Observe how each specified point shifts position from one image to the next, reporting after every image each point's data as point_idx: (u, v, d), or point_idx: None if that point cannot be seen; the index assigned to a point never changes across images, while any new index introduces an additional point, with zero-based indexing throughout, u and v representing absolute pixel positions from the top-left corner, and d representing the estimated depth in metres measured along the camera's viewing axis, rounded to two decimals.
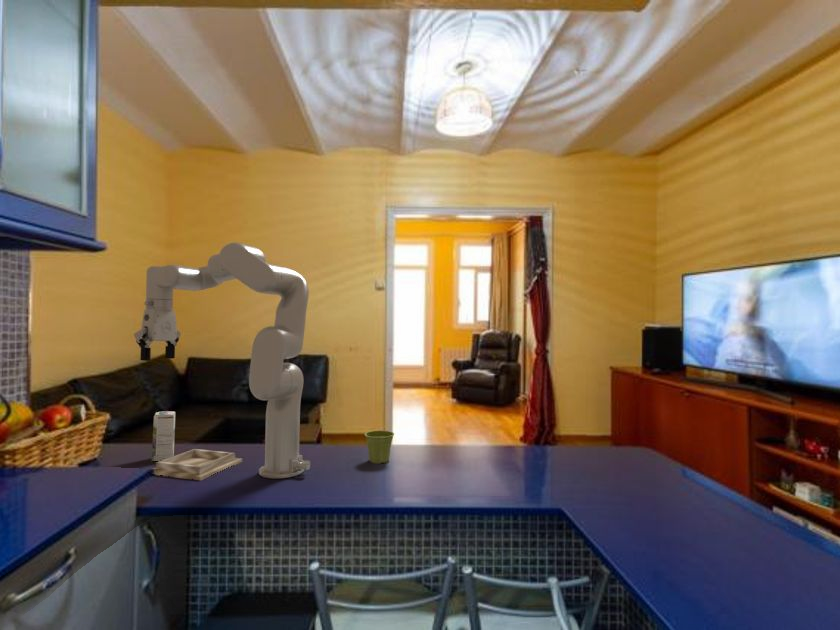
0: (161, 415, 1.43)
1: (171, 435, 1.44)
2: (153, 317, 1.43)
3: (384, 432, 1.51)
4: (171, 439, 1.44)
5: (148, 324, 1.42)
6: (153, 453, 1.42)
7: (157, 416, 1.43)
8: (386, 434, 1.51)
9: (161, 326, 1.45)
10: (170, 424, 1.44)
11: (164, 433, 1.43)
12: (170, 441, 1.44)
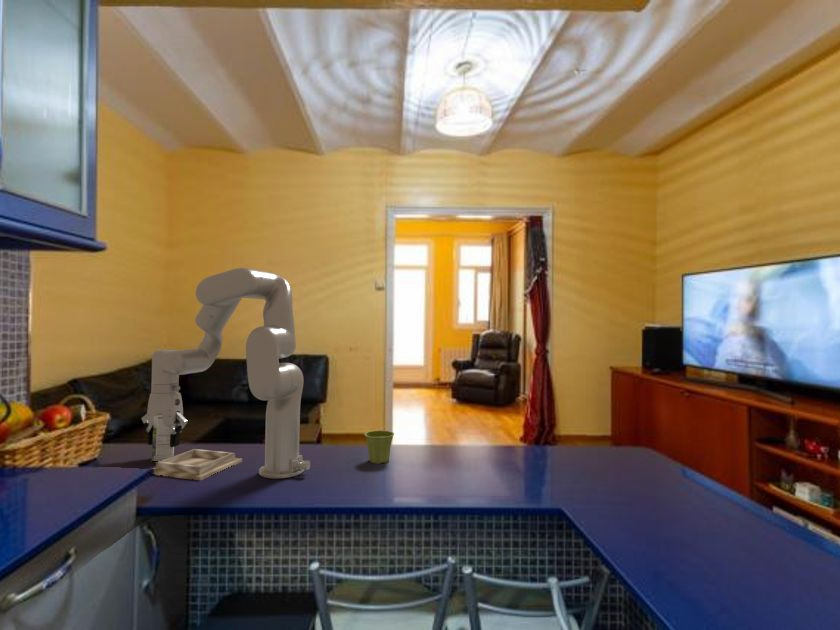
0: (161, 415, 1.43)
1: None
2: (181, 400, 1.47)
3: (384, 432, 1.51)
4: None
5: (180, 408, 1.46)
6: (153, 453, 1.42)
7: (157, 416, 1.43)
8: (386, 434, 1.51)
9: None
10: None
11: (163, 433, 1.43)
12: None
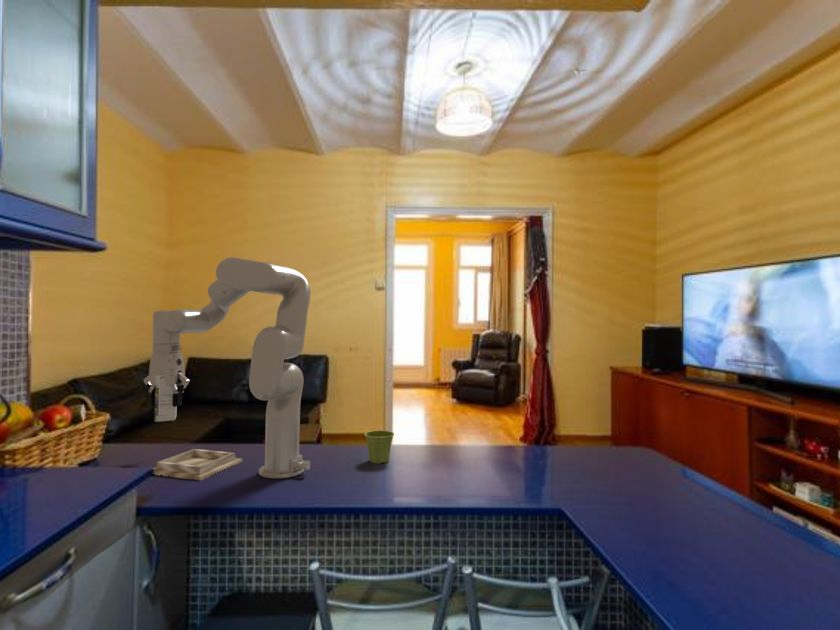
0: (163, 375, 1.44)
1: None
2: (183, 361, 1.47)
3: (384, 432, 1.51)
4: None
5: (181, 368, 1.46)
6: (156, 413, 1.42)
7: (159, 376, 1.43)
8: (386, 434, 1.51)
9: None
10: None
11: (166, 393, 1.44)
12: None
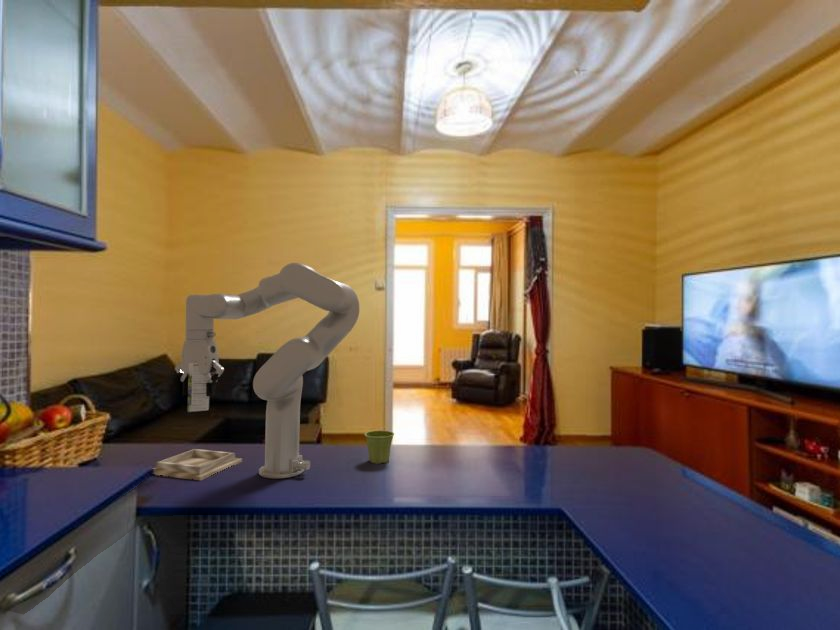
0: (196, 362, 1.36)
1: None
2: None
3: (384, 432, 1.51)
4: None
5: (215, 356, 1.38)
6: (189, 402, 1.35)
7: (192, 363, 1.35)
8: (386, 434, 1.51)
9: None
10: None
11: (199, 382, 1.36)
12: None
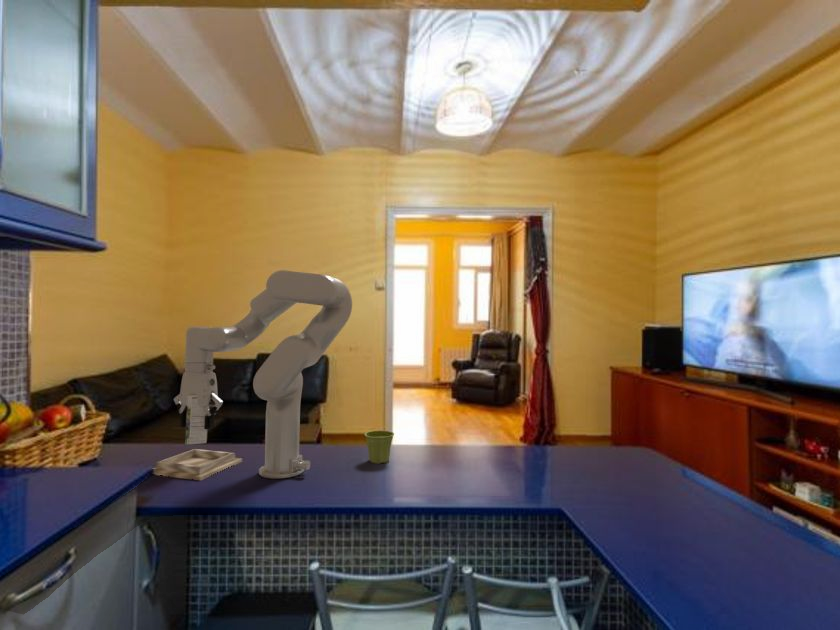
0: (195, 395, 1.35)
1: None
2: (216, 381, 1.39)
3: (384, 432, 1.51)
4: None
5: (214, 388, 1.38)
6: (187, 435, 1.34)
7: (191, 396, 1.35)
8: (386, 434, 1.51)
9: None
10: None
11: (198, 414, 1.36)
12: None
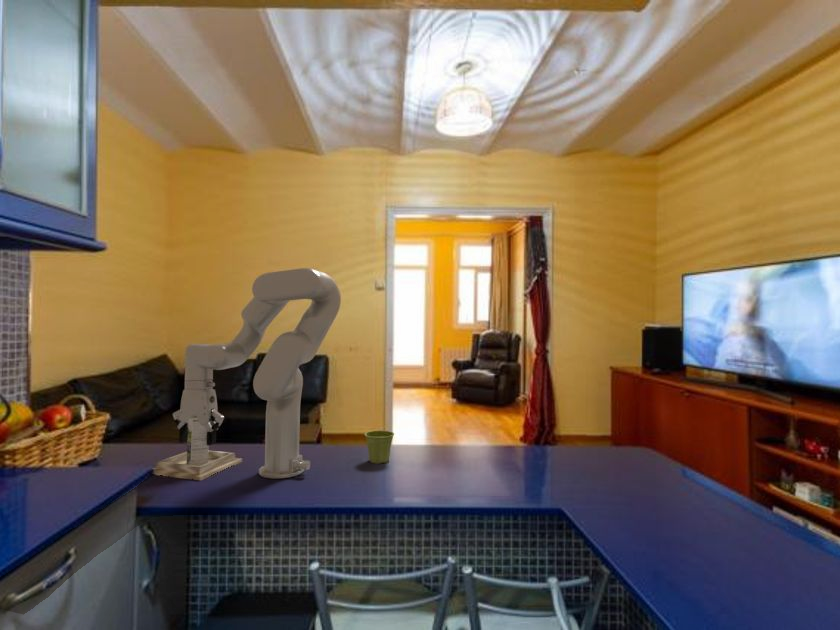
0: (196, 418, 1.35)
1: (206, 439, 1.36)
2: None
3: (384, 432, 1.51)
4: (206, 443, 1.36)
5: (214, 406, 1.38)
6: (188, 458, 1.34)
7: (192, 419, 1.35)
8: (386, 434, 1.51)
9: None
10: (205, 428, 1.36)
11: (199, 437, 1.35)
12: (206, 445, 1.36)
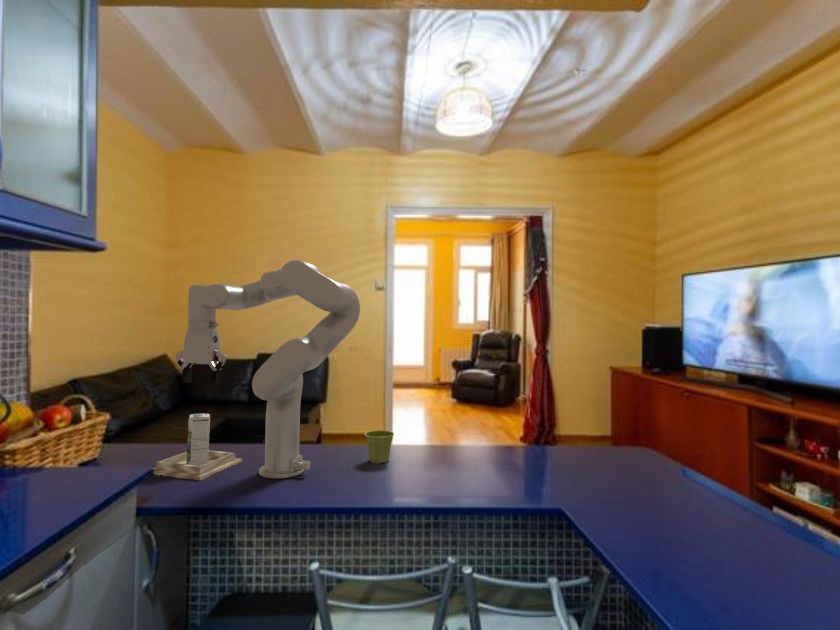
0: (196, 418, 1.35)
1: (206, 439, 1.36)
2: (219, 339, 1.41)
3: (384, 432, 1.51)
4: (206, 443, 1.36)
5: (217, 346, 1.39)
6: (188, 458, 1.34)
7: (192, 419, 1.35)
8: (386, 434, 1.51)
9: None
10: (205, 428, 1.36)
11: (199, 437, 1.35)
12: (206, 445, 1.36)
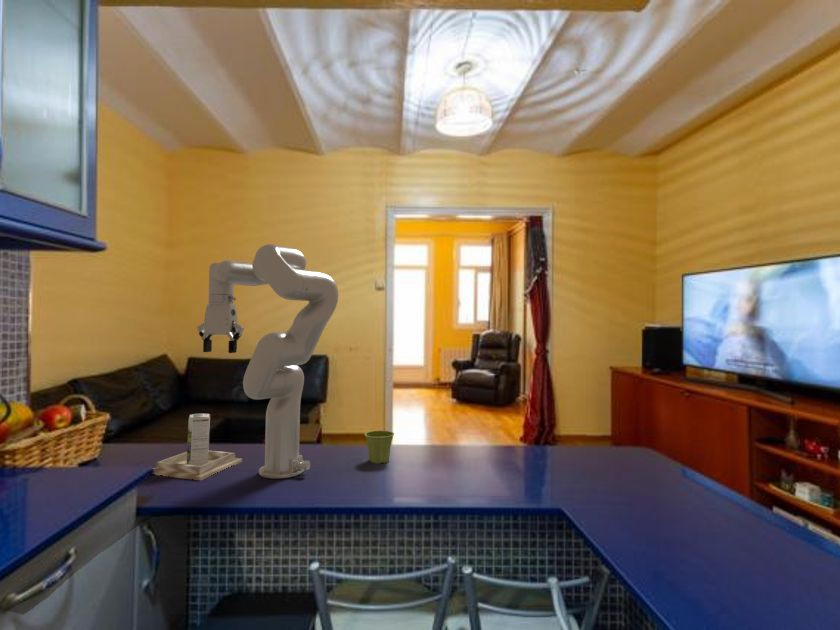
0: (196, 418, 1.35)
1: (206, 439, 1.36)
2: (236, 312, 1.54)
3: (384, 432, 1.51)
4: (206, 443, 1.36)
5: (235, 319, 1.53)
6: (188, 458, 1.34)
7: (192, 419, 1.35)
8: (386, 434, 1.51)
9: None
10: (205, 428, 1.36)
11: (199, 437, 1.35)
12: (206, 445, 1.36)
